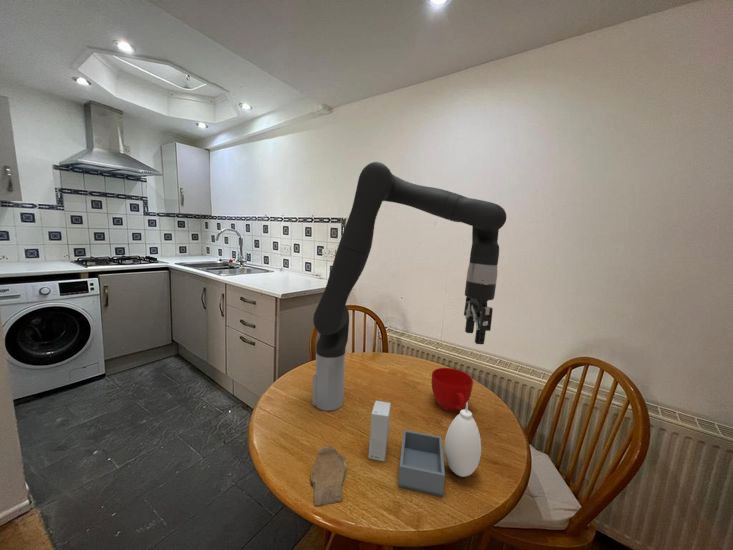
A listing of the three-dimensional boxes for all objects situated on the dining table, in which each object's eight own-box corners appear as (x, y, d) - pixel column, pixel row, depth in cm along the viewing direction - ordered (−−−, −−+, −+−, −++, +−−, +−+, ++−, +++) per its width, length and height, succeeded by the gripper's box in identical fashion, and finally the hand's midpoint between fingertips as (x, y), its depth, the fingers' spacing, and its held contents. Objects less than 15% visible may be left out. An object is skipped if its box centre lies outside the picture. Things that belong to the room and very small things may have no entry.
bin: (398, 486, 61) (399, 466, 61) (402, 447, 73) (403, 429, 72) (442, 496, 59) (444, 475, 59) (439, 454, 71) (441, 436, 70)
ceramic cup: (438, 425, 83) (441, 393, 81) (425, 393, 99) (427, 366, 98) (482, 426, 83) (485, 395, 82) (461, 394, 100) (464, 368, 98)
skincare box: (385, 462, 68) (388, 416, 66) (368, 459, 69) (370, 413, 67) (388, 444, 74) (391, 402, 72) (372, 441, 75) (374, 399, 73)
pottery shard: (307, 458, 70) (313, 510, 56) (307, 448, 70) (313, 497, 55) (340, 453, 72) (354, 501, 58) (340, 443, 72) (354, 489, 58)
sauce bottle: (484, 477, 65) (493, 405, 63) (462, 493, 61) (471, 416, 58) (457, 455, 71) (464, 388, 69) (435, 467, 67) (442, 397, 65)
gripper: (459, 275, 83) (453, 328, 85) (475, 283, 69) (468, 346, 71) (485, 277, 83) (478, 330, 85) (507, 286, 69) (498, 349, 71)
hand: (473, 338), depth 78 cm, fingers open, 8 cm apart
